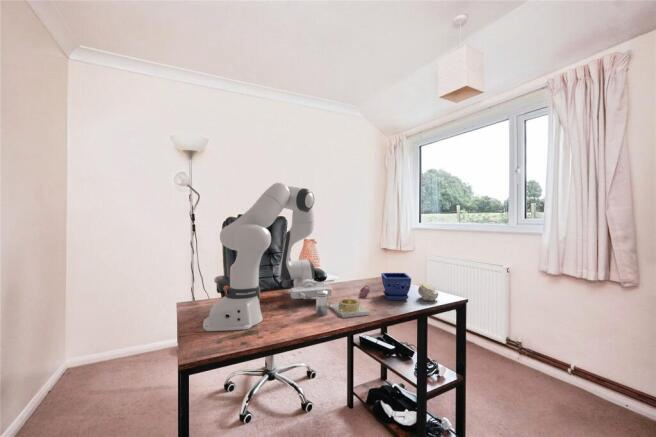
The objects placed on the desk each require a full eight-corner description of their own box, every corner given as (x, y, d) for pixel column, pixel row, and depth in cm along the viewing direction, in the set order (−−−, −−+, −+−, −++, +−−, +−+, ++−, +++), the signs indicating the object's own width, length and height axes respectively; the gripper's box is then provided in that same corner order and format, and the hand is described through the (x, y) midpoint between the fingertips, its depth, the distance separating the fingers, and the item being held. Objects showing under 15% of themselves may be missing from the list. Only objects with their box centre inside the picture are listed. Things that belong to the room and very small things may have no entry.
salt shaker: (317, 316, 120) (318, 293, 120) (314, 312, 125) (314, 290, 125) (329, 315, 122) (329, 292, 122) (325, 311, 127) (325, 289, 126)
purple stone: (365, 300, 148) (372, 289, 147) (357, 296, 148) (364, 284, 148) (366, 295, 157) (372, 284, 157) (359, 291, 158) (365, 280, 157)
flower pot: (384, 301, 142) (384, 277, 141) (380, 294, 155) (380, 272, 155) (411, 301, 141) (411, 278, 141) (405, 294, 154) (405, 272, 154)
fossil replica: (433, 296, 151) (414, 298, 151) (431, 280, 152) (413, 282, 151) (443, 301, 139) (423, 303, 139) (441, 284, 140) (421, 286, 139)
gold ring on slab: (342, 318, 118) (342, 308, 118) (329, 307, 133) (329, 298, 132) (370, 314, 123) (370, 305, 123) (355, 304, 137) (355, 295, 137)
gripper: (287, 284, 140) (293, 291, 127) (326, 281, 147) (336, 287, 134) (287, 296, 140) (293, 305, 127) (326, 293, 147) (336, 301, 134)
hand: (315, 296), depth 131 cm, fingers open, 8 cm apart
